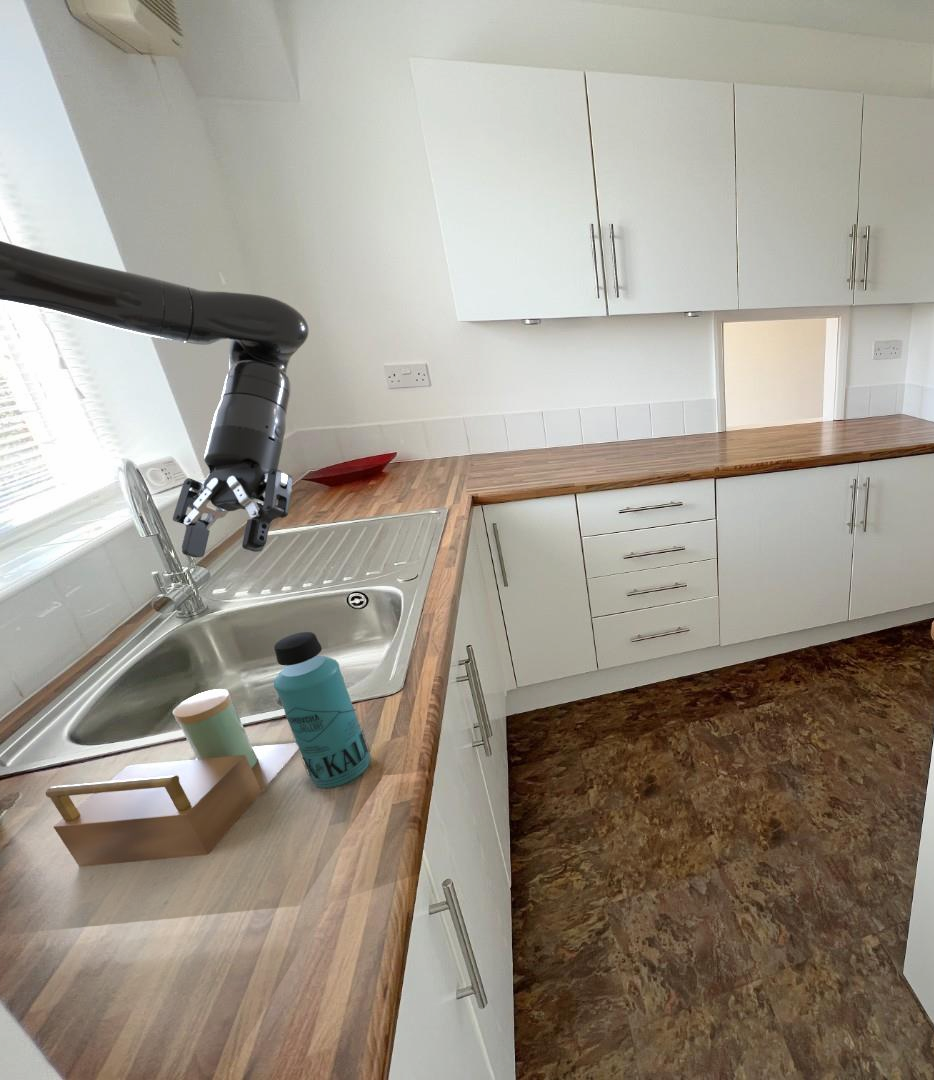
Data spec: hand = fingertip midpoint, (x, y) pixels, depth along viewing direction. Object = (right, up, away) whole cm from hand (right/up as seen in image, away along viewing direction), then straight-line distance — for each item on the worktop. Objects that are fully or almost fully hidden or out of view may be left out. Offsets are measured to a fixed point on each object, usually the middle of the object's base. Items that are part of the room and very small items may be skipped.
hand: (222, 553), depth 73 cm
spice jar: (+2, -27, -1) cm, 27 cm away
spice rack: (+2, -30, -4) cm, 30 cm away
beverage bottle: (+16, -28, -1) cm, 32 cm away
